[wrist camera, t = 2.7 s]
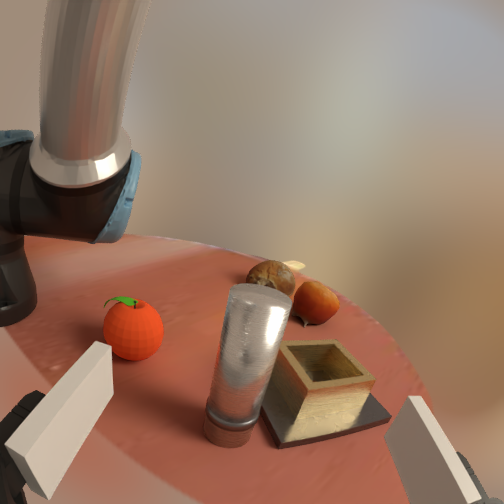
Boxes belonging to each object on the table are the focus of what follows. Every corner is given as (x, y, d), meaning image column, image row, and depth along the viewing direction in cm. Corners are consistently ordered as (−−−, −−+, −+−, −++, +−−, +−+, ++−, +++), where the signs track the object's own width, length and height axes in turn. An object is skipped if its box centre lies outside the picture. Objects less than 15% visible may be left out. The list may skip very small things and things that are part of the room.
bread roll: (290, 315, 62) (312, 282, 62) (258, 297, 56) (282, 261, 56) (264, 294, 70) (284, 265, 70) (233, 277, 64) (254, 244, 64)
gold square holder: (278, 449, 23) (294, 413, 22) (236, 362, 36) (244, 328, 35) (388, 422, 28) (407, 389, 27) (330, 358, 41) (341, 328, 40)
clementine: (85, 351, 30) (83, 296, 28) (119, 329, 36) (121, 279, 35) (141, 382, 28) (143, 324, 26) (171, 353, 35) (178, 300, 33)
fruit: (273, 305, 52) (300, 267, 53) (295, 321, 57) (319, 287, 58) (305, 328, 46) (335, 286, 47) (325, 342, 51) (351, 304, 52)
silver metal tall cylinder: (207, 450, 22) (238, 309, 18) (198, 414, 26) (221, 280, 22) (258, 446, 23) (304, 312, 20) (243, 412, 27) (278, 285, 24)
